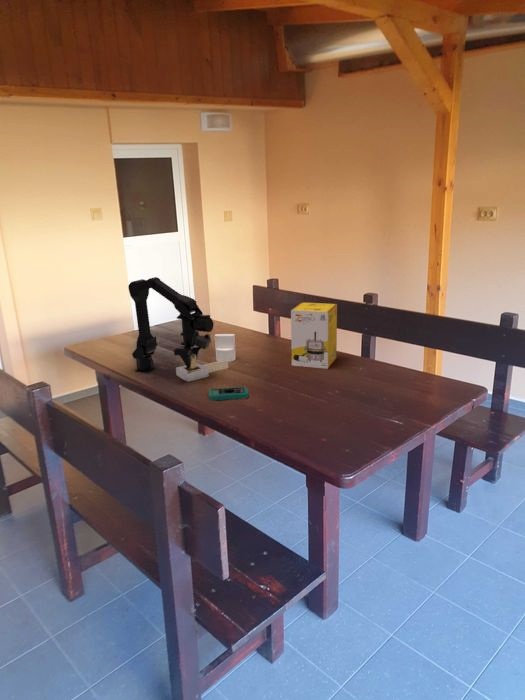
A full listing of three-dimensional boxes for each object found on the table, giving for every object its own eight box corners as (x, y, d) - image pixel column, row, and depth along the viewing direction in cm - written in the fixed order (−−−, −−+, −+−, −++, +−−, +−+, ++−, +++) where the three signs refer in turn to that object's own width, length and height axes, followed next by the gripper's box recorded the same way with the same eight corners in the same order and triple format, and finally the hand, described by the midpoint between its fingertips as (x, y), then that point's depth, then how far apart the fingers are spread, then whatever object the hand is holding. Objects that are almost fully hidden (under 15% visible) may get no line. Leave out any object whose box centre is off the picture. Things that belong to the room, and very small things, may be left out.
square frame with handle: (176, 375, 228) (175, 367, 227) (221, 364, 240) (221, 357, 239) (187, 381, 220) (186, 373, 219) (233, 370, 232) (232, 362, 231)
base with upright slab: (237, 357, 252) (235, 332, 248) (234, 363, 243) (233, 337, 240) (218, 357, 253) (216, 332, 249) (214, 363, 244) (213, 337, 240)
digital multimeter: (249, 399, 202) (248, 392, 201) (209, 402, 201) (208, 394, 200) (247, 392, 209) (247, 385, 208) (208, 395, 208) (208, 388, 207)
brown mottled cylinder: (186, 378, 226) (184, 355, 223) (190, 375, 229) (188, 352, 226) (194, 379, 224) (193, 356, 221) (199, 375, 228) (197, 353, 225)
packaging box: (291, 365, 237) (290, 310, 230) (302, 354, 252) (301, 302, 245) (327, 368, 232) (327, 312, 224) (336, 357, 246) (337, 304, 239)
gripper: (197, 336, 210) (200, 374, 214) (216, 325, 227) (218, 360, 231) (171, 335, 213) (174, 372, 218) (192, 323, 230) (194, 358, 235)
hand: (191, 365), depth 225 cm, fingers open, 6 cm apart
